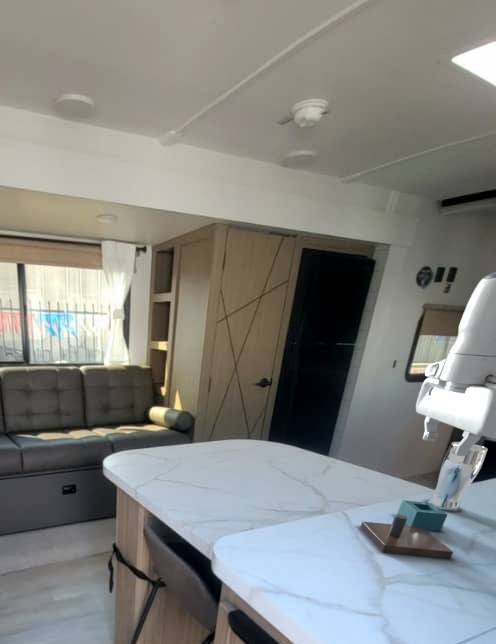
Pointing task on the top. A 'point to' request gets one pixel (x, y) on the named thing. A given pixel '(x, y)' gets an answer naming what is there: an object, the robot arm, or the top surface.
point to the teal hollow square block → (422, 515)
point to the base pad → (405, 539)
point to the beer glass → (456, 476)
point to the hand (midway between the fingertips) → (442, 447)
